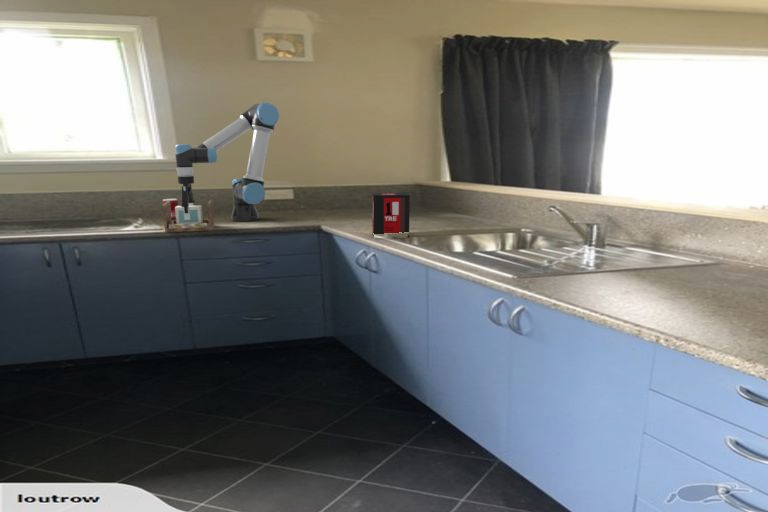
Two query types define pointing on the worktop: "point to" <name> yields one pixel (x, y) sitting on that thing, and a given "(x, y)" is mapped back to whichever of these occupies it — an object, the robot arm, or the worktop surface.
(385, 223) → the cleaning product box
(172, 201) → the canned food
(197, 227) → the facing shelf
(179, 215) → the product carton
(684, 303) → the worktop surface
